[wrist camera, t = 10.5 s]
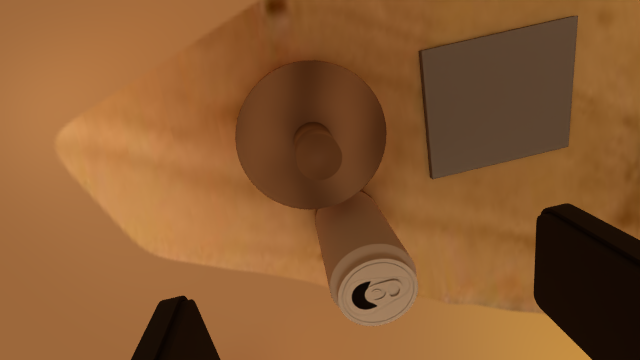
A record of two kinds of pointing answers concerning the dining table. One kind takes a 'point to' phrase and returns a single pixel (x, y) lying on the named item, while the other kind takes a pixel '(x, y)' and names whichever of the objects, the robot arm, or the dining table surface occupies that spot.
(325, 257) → the beverage can
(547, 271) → the robot arm
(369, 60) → the dining table surface
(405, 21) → the dining table surface
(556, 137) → the mat
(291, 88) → the lid
